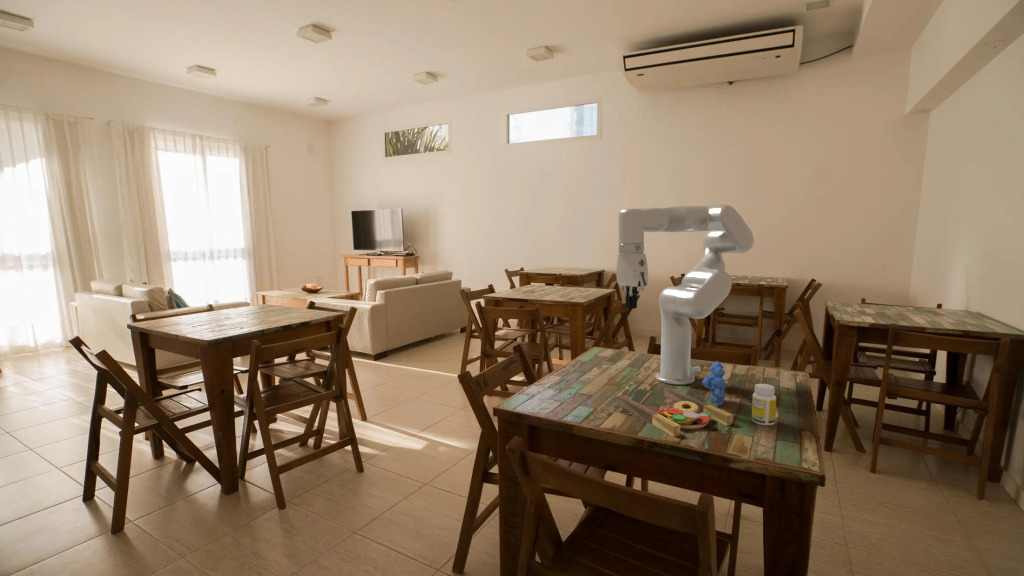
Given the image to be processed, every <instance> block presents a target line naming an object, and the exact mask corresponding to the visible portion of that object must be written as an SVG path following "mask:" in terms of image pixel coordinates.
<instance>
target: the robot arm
mask: <svg viewBox="0 0 1024 576" xmlns="http://www.w3.org/2000/svg"><path fill="white" fill-rule="evenodd" d="M658 232H664V233H665V232H666V233H690V232H706V234H705V235H704V237H703V243H702V244H703V247H702V248H703V254H702V258H701V259H700V261H698V262H697V263H696V264H695V265H694V266H693V267H692V268H691V269H690V270H689V271H688V272H687V273H686V274H685V275H684V276H683V278H682V279H681V286H677V285H675V286H674V285H673V286H667V287H665V288H664V289H662V291H661V292H660V294H659V296H658V306H659V307H658V308H659V312H660V319H661V321H660V322H661V324H660V325H661V328H660V329H661V331H660V332H661V333H660V370H659V371H658V372H656V373H655V375H654V377H655V379H656V380H657V381H658V382H660V383H665V384H669V385H679V386H680V385H681V386H682V385H690V384H693V383H695V381H696V380H695V379H696V378H695V376H694V375H693V374H694V373H699V372H701V371H702V368H701V366H699V365H697V366H693V365H691V352H692V349H691V347H692V325H691V322H690V320H689V318H690V319H695V320H697V319H698V320H701V319H705V318H706V317H708V316H710V315H711V313H712V312H713V311H714V310H716V308H718V307H719V306H720V304H722V303H723V301H724V300H726V298H727V297H728V296H729V294H730V292H731V290H732V285H733V284H732V283H733V282H732V277H731V275H730V274H729V272H727V271H725V270H726V263H725V261H724V257H723V254H724V253H725V254H726V253H727V254H745V253H747V252H749V251H750V250H751V249H752V248H753V246H754V242H755V240H754V235H753V231H752V230H751V229H750V227H749V225H748V224H747V223H746V222H745V220H744V219H743V217H742V216H741V214H740V213H739V212H738V211H737V210H736V209H735V208H734V207H733V206H731V205H729V204H715V205H681V206H680V205H678V206H670V207H645V208H623V209H621V210H619V212H618V255H617V261H616V262H617V263H616V282H617V284H618V288H620V289H621V290H622V291H623V295H624V296H625V299H624V300H625V303H624V304H625V309H627V310H634V309H637V308H638V296H639V293H640V292H644V291H645V287H647V286H648V285H649V268H648V259H647V256H646V253H645V233H658Z"/></svg>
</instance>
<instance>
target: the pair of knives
mask: <svg viewBox="0 0 1024 576" xmlns="http://www.w3.org/2000/svg"><path fill="white" fill-rule="evenodd" d="M663 397H665V398H667V399H668V400H671V401H673V402H675V403H677V402H680V401H689V402H693V403H695V404H696V405H697V406H698V407H699V412H709V413H710V414H711V416H710V417H709V418H710V419H713V420H714V421H716V422H718V423H720V424H722V425H724V426H730V425H733V421H734V419H733V417H734V415H733V414H732V413H730V412H727V411H725V410H722V409H720V408H718V407H716V406H714V405H711V404H709V403H706V402H704V401H702V400H699V399H697V398H695V397H694V396H691V395H688V394H685V393H683V392H680V391H678V390H676V389H674V388H672V387H665V388H663ZM616 405H617V406H619V407H620V408H622V409H624V410H626V411H628V412H630V413H631V414H633V415H635V416H636V417H639V418H641V420H643V421H646V423H649V424H650V425H652V426H655V427H656V428H658V429H659V430H662V431H663V432H665V433H666V434H668V435H670V436H672V437H677V436H678V437H679V436H681V428H680V425H679V424H677V423H675V422H673V421H671V420H669V419H667V418H665V417H663V416H662V415H660V414H658V412H656V411H654V410H652V409H650V408H648V407H646V406H644V405H642V404H641V403H638V402H636V401H634V400H633V399H631V398H629V397H627V396H625V395H624V394H622V395H621V394H620V395H616Z"/></svg>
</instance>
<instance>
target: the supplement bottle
mask: <svg viewBox="0 0 1024 576" xmlns="http://www.w3.org/2000/svg"><path fill="white" fill-rule="evenodd" d="M751 406H752V407H751V421H752V422H753V423H755V424H757V425H762V426H773V425H775V424H776V416H777V415H776V411H777V396H776V395H775V386H773V385H771V384H767V383H756V384H754V392H753V393H752V403H751Z"/></svg>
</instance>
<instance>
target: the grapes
mask: <svg viewBox="0 0 1024 576" xmlns="http://www.w3.org/2000/svg"><path fill="white" fill-rule="evenodd" d="M709 371H711V373H710V374H709V376H706V377H705V378H703V380H702V381H701V383H702V385H703V386H704V387H705V388H706V389H709V391H710V392H711V395H710V398H711V400H712V401H713V403H714V404H715V405H716V406H721V405H723V404H724V402H725V401H726V399H725V398H726V397H727V393H726V392H725V390H724V388H725V387H726V386H727V382H726V380H725V379H724V375H726V371H725V370H724V366H723V364H722V363H721V362H720V361H718V360H715V362H713V364H712V365H711V366H710V368H709Z"/></svg>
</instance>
